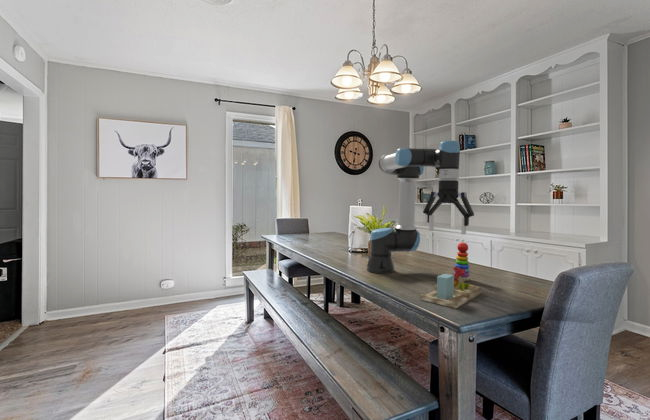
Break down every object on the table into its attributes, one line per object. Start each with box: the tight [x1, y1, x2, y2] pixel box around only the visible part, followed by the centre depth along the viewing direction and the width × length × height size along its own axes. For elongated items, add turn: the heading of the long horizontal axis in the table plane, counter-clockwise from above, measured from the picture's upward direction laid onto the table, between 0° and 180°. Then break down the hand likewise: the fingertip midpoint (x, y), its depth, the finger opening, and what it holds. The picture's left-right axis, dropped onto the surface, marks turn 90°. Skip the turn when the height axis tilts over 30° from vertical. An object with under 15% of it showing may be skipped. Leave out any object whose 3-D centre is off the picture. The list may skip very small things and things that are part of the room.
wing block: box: [436, 273, 454, 300], centre depth 140 cm, size 4×7×9 cm, turn 137°
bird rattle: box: [450, 266, 471, 291], centre depth 150 cm, size 6×11×9 cm
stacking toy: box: [453, 242, 471, 282], centre depth 173 cm, size 8×8×19 cm
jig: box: [419, 282, 482, 309], centre depth 145 cm, size 15×26×3 cm, turn 137°
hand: (446, 232), depth 140 cm, fingers open, 13 cm apart
